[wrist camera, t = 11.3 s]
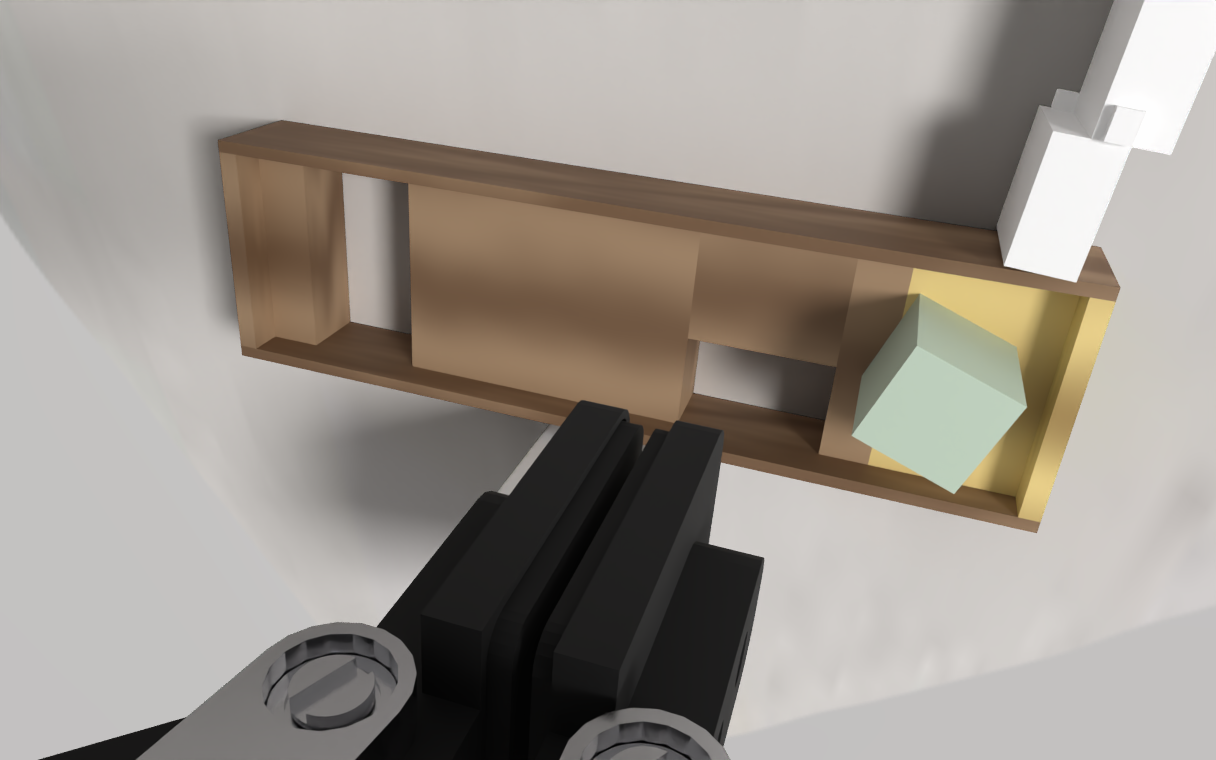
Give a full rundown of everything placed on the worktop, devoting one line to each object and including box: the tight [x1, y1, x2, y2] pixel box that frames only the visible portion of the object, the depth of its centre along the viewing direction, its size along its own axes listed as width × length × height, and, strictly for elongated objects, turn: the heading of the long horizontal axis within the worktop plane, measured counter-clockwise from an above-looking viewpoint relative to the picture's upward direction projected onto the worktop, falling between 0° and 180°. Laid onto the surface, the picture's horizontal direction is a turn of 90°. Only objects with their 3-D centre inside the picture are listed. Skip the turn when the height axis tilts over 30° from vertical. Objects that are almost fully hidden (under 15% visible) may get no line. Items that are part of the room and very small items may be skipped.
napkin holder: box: [997, 0, 1216, 283], centre depth 32 cm, size 15×11×6 cm
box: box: [218, 120, 1120, 533], centre depth 40 cm, size 10×35×4 cm, turn 86°
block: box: [852, 294, 1027, 494], centre depth 34 cm, size 4×4×5 cm
